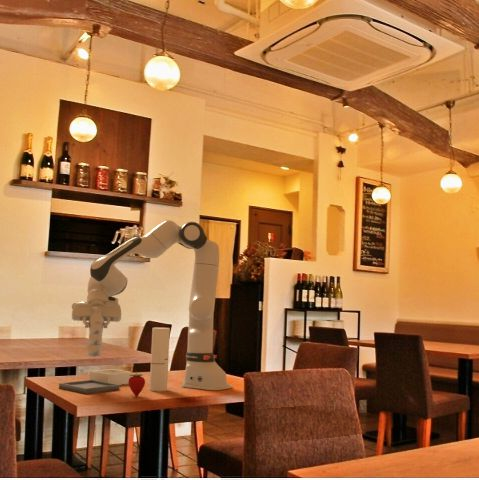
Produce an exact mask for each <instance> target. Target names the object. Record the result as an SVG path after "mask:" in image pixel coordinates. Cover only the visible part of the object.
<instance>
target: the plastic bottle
mask: <svg viewBox="0 0 479 480" xmlns="http://www.w3.org/2000/svg"><path fill="white" fill-rule="evenodd" d="M101 312H102V308H98V307H93V314H92V315H91V317H90V318H89V321H88V322H89V328H88V330H89V331H88V333H89V334H88V342H87V345H86V354H87V356H90V357H94V358H95V357H100V356H101V355H102V354H103V352H104V351H103V350H104V349H103V331H104V323H105V322H106V321H105V320H104V317H103V316H102V314H101Z"/></svg>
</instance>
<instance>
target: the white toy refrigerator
mask: <svg viewBox="0 0 479 480" xmlns="http://www.w3.org/2000/svg"><path fill="white" fill-rule="evenodd" d="M170 330H171V329H170V327H152V331H151V348H150V353H151V354H150V374H149V390H148V391H151V392H166V391H168V380H169V377H168V376H169V352H170V334H171V333H170Z"/></svg>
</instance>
